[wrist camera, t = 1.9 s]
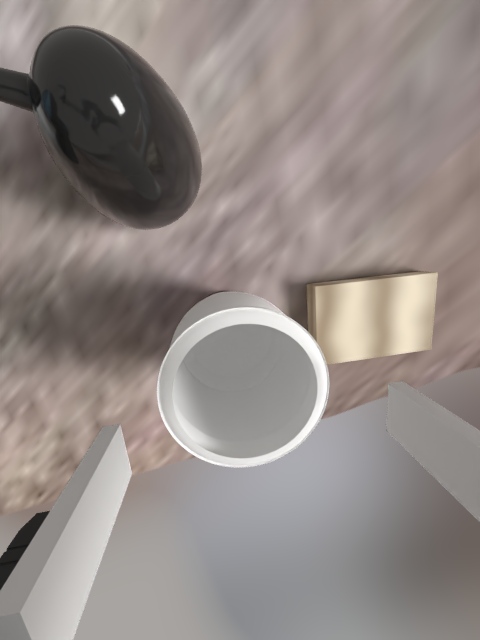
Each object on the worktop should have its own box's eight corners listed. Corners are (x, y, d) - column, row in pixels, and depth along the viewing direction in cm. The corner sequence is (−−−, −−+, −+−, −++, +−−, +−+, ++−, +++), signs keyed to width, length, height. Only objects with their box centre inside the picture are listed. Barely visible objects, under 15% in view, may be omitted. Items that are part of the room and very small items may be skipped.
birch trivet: (309, 357, 32) (317, 365, 30) (306, 284, 30) (315, 286, 27) (414, 342, 33) (431, 349, 31) (419, 271, 31) (437, 272, 29)
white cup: (161, 315, 29) (115, 375, 14) (240, 263, 28) (276, 269, 14) (215, 387, 31) (223, 498, 17) (288, 339, 31) (359, 412, 17)
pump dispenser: (86, 109, 24) (-111, -132, 9) (203, 124, 25) (200, -65, 10) (94, 229, 26) (-51, 194, 11) (201, 236, 27) (196, 212, 13)
